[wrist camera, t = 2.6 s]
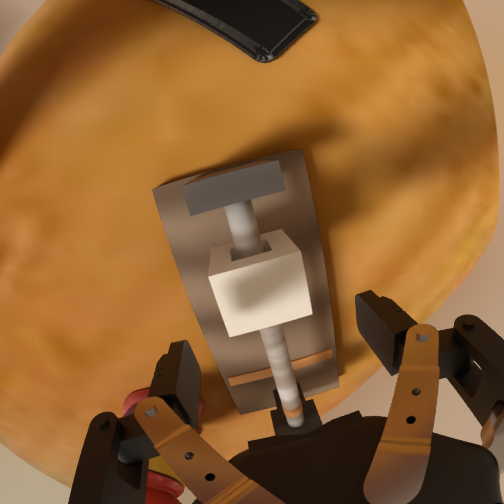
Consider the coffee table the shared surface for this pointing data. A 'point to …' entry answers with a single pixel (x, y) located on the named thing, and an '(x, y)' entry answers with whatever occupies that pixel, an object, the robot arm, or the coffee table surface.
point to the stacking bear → (158, 463)
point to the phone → (250, 22)
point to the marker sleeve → (259, 284)
